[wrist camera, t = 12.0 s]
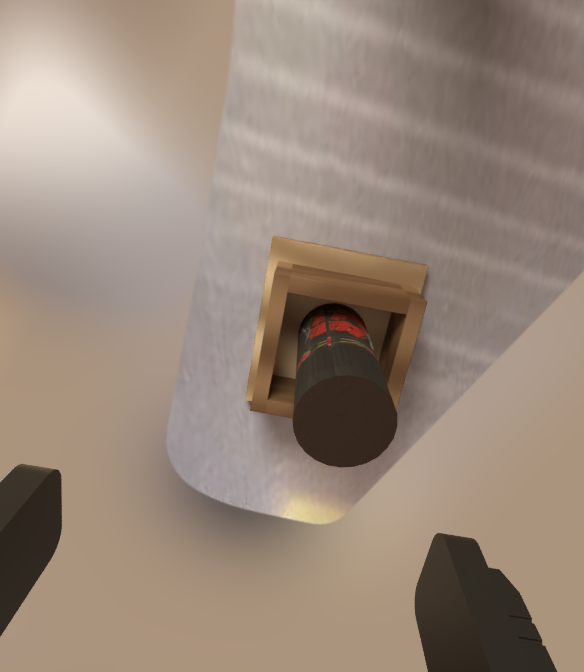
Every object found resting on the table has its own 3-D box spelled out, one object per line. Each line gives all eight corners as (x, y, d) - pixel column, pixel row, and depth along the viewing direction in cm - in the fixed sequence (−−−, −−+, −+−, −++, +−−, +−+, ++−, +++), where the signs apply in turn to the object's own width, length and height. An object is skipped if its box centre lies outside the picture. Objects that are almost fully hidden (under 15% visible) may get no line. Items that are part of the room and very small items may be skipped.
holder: (273, 235, 39) (267, 246, 34) (425, 265, 40) (444, 280, 34) (246, 395, 44) (237, 427, 39) (381, 419, 45) (392, 456, 39)
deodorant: (380, 338, 41) (418, 427, 27) (328, 380, 42) (338, 484, 28) (336, 288, 40) (351, 354, 25) (284, 333, 41) (271, 418, 27)
